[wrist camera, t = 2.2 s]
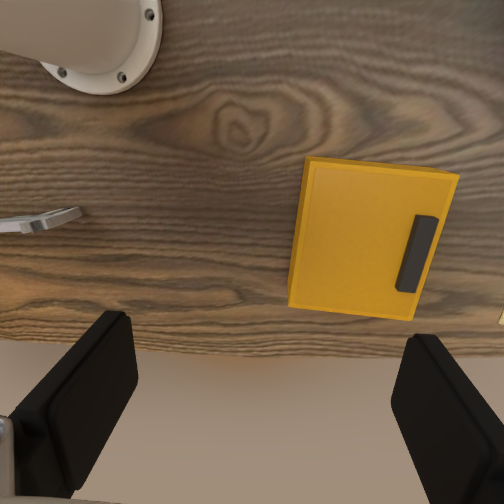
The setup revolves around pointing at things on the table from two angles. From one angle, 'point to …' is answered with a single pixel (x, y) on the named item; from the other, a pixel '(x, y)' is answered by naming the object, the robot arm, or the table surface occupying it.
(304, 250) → the case
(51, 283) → the table surface
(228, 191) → the table surface
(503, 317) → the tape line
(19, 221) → the caliper
